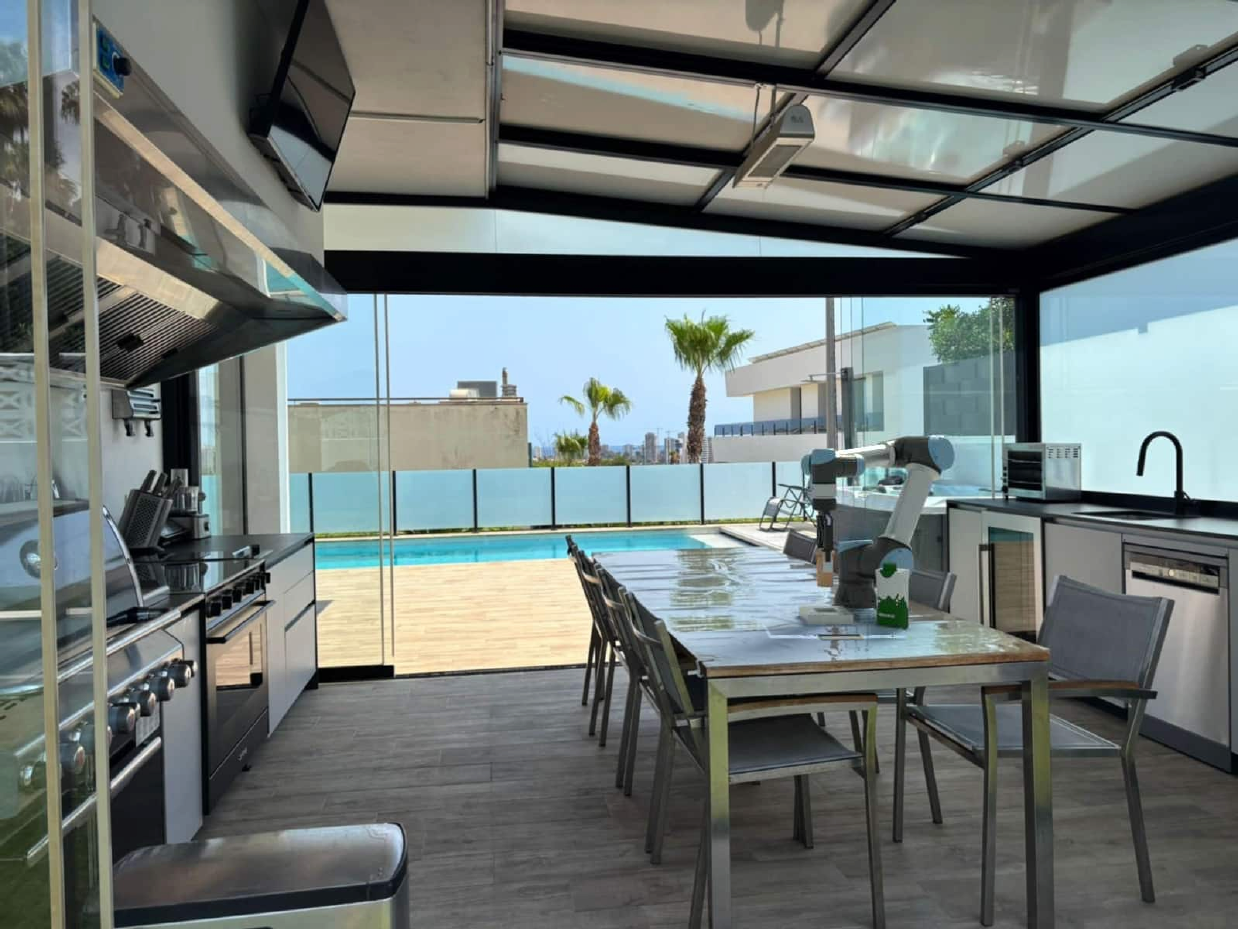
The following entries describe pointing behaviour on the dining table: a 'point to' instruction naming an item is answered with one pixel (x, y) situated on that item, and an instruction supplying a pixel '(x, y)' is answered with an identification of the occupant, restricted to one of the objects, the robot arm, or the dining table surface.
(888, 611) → the milk carton
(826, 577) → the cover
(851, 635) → the mat
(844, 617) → the housing
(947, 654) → the dining table surface
